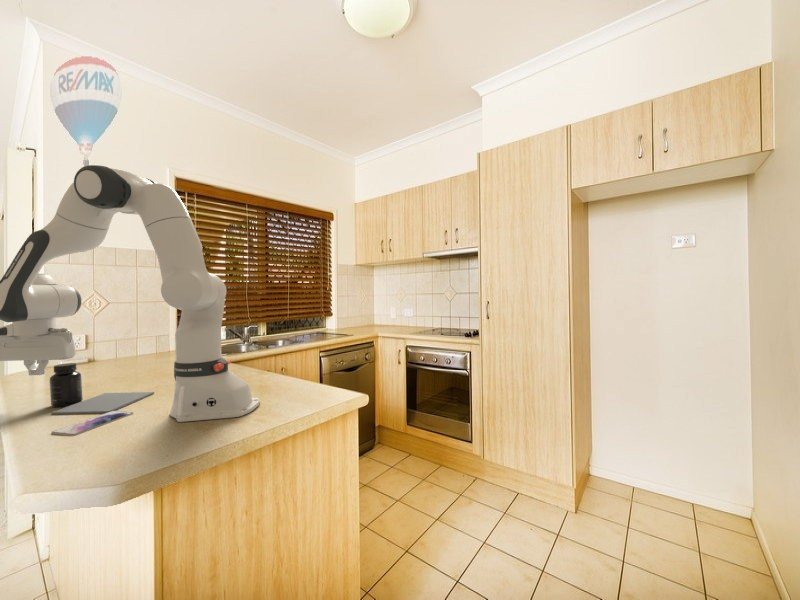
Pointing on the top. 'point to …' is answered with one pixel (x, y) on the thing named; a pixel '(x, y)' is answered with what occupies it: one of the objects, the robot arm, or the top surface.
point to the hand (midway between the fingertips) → (36, 374)
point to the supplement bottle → (65, 386)
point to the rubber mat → (103, 403)
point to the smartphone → (91, 423)
